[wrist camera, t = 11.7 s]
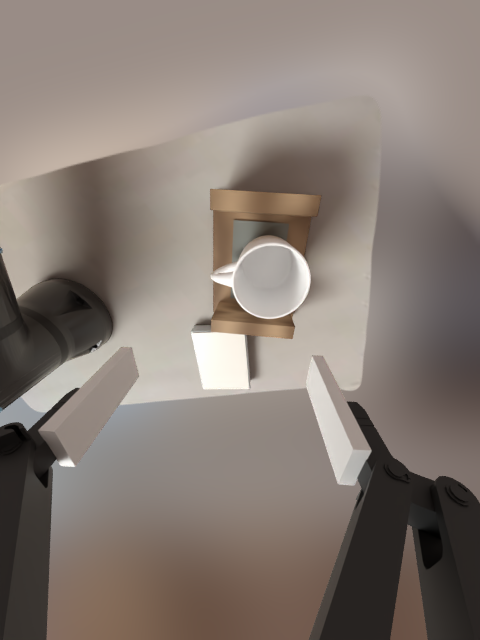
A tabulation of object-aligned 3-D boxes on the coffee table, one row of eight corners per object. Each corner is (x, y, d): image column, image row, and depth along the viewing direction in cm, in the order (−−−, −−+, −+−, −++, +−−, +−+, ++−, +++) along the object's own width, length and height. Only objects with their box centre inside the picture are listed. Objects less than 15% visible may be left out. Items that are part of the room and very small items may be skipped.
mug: (215, 236, 31) (196, 244, 21) (297, 233, 30) (315, 240, 20) (220, 291, 35) (205, 319, 25) (292, 290, 34) (306, 319, 24)
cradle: (214, 309, 38) (204, 331, 31) (214, 195, 30) (201, 188, 22) (291, 315, 37) (299, 339, 30) (312, 201, 29) (330, 196, 22)
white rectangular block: (205, 380, 46) (202, 389, 43) (194, 325, 40) (190, 332, 37) (250, 380, 45) (250, 389, 42) (246, 323, 39) (245, 330, 36)
